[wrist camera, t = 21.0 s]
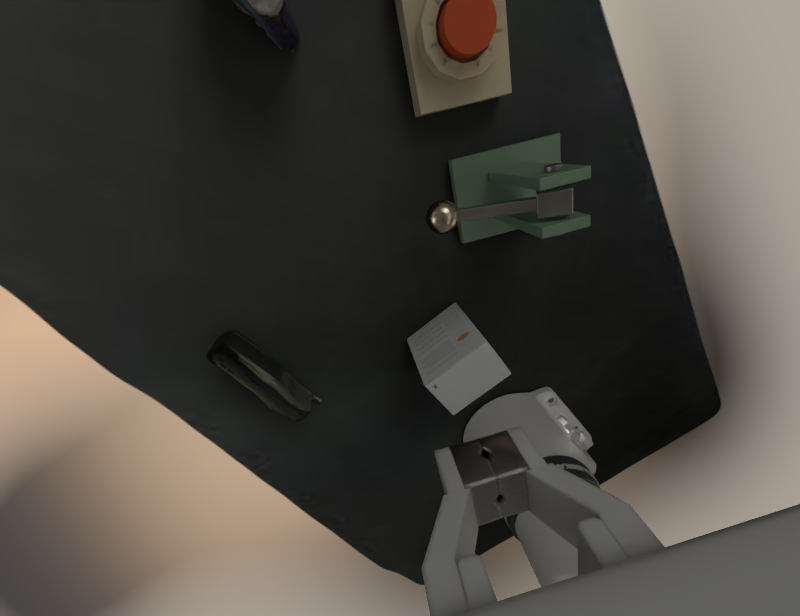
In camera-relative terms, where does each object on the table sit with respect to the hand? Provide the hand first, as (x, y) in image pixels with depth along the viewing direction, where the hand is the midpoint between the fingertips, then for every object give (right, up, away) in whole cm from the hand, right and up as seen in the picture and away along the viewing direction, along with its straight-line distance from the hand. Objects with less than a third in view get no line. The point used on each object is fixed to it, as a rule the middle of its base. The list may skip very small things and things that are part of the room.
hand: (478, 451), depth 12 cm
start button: (+3, +28, +18) cm, 33 cm away
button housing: (+2, +30, +22) cm, 37 cm away
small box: (+3, +1, +34) cm, 35 cm away
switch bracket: (+9, +18, +28) cm, 35 cm away
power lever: (+7, +15, +22) cm, 27 cm away
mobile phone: (-19, -3, +33) cm, 38 cm away
